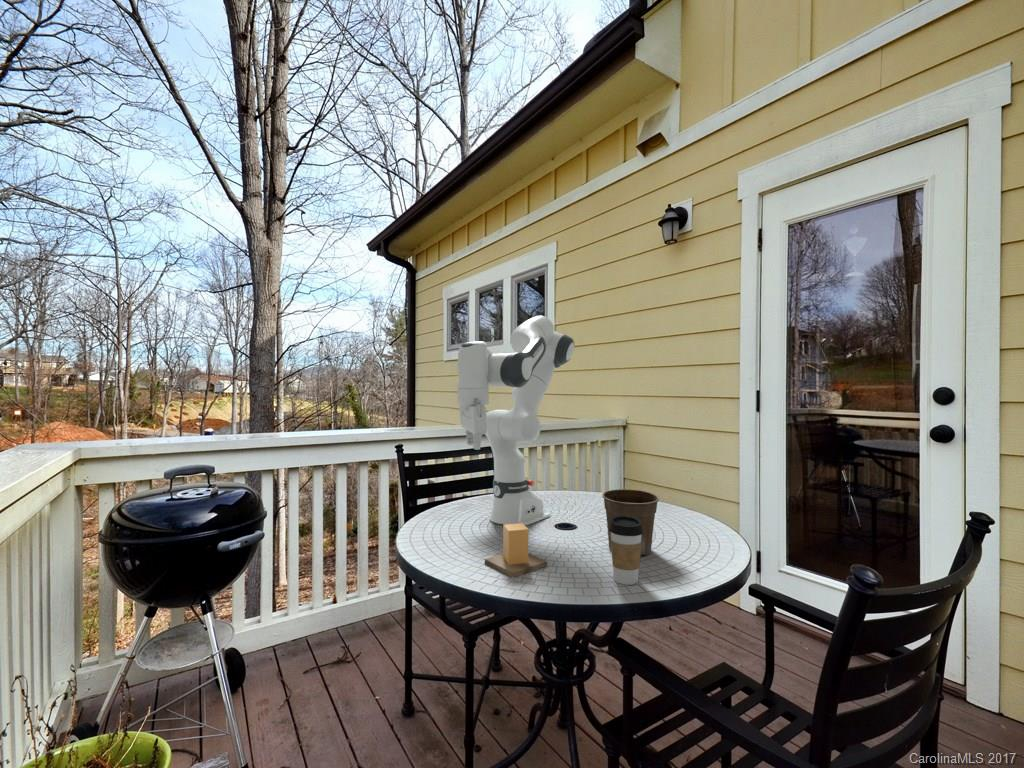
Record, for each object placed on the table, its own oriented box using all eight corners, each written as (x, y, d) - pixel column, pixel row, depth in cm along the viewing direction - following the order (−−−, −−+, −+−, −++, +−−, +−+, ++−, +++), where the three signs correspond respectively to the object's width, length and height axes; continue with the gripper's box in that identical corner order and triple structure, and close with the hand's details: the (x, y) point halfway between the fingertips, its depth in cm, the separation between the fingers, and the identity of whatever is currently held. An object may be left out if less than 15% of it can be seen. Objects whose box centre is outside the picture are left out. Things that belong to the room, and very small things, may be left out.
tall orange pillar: (503, 557, 132) (503, 524, 131) (522, 555, 133) (522, 523, 133) (508, 564, 126) (508, 530, 126) (528, 562, 128) (528, 529, 128)
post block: (518, 553, 138) (518, 531, 138) (547, 565, 129) (547, 542, 129) (484, 563, 130) (484, 540, 130) (512, 577, 121) (512, 553, 121)
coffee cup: (637, 572, 124) (637, 515, 124) (647, 586, 116) (648, 525, 116) (605, 573, 124) (605, 515, 124) (613, 587, 116) (613, 525, 115)
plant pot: (661, 562, 131) (662, 504, 131) (601, 558, 134) (601, 501, 134) (656, 542, 147) (656, 490, 147) (602, 539, 150) (602, 488, 150)
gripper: (492, 399, 127) (492, 451, 127) (476, 396, 146) (477, 441, 147) (469, 400, 125) (469, 453, 125) (456, 396, 145) (456, 442, 145)
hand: (473, 446), depth 136 cm, fingers open, 8 cm apart
